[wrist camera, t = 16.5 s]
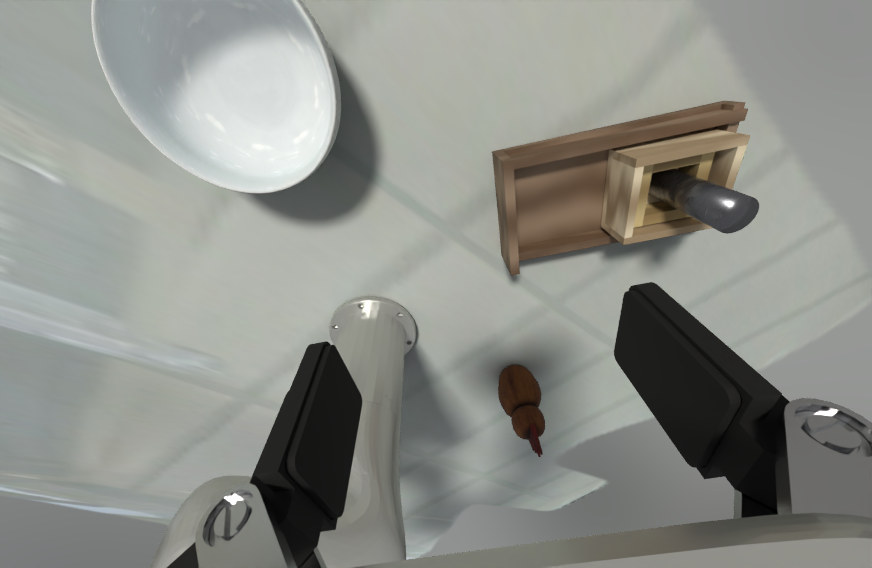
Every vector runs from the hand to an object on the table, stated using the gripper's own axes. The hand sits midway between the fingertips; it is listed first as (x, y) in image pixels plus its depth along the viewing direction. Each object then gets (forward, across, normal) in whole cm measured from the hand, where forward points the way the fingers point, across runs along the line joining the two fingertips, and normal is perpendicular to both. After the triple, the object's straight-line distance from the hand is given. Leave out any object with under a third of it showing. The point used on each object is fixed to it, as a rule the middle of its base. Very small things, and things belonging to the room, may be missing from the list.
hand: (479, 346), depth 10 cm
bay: (+28, -18, +7) cm, 34 cm away
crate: (+27, -23, +7) cm, 36 cm away
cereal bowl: (+29, +15, -10) cm, 34 cm away
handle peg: (+26, -24, +7) cm, 36 cm away
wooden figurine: (+28, -6, +37) cm, 47 cm away
